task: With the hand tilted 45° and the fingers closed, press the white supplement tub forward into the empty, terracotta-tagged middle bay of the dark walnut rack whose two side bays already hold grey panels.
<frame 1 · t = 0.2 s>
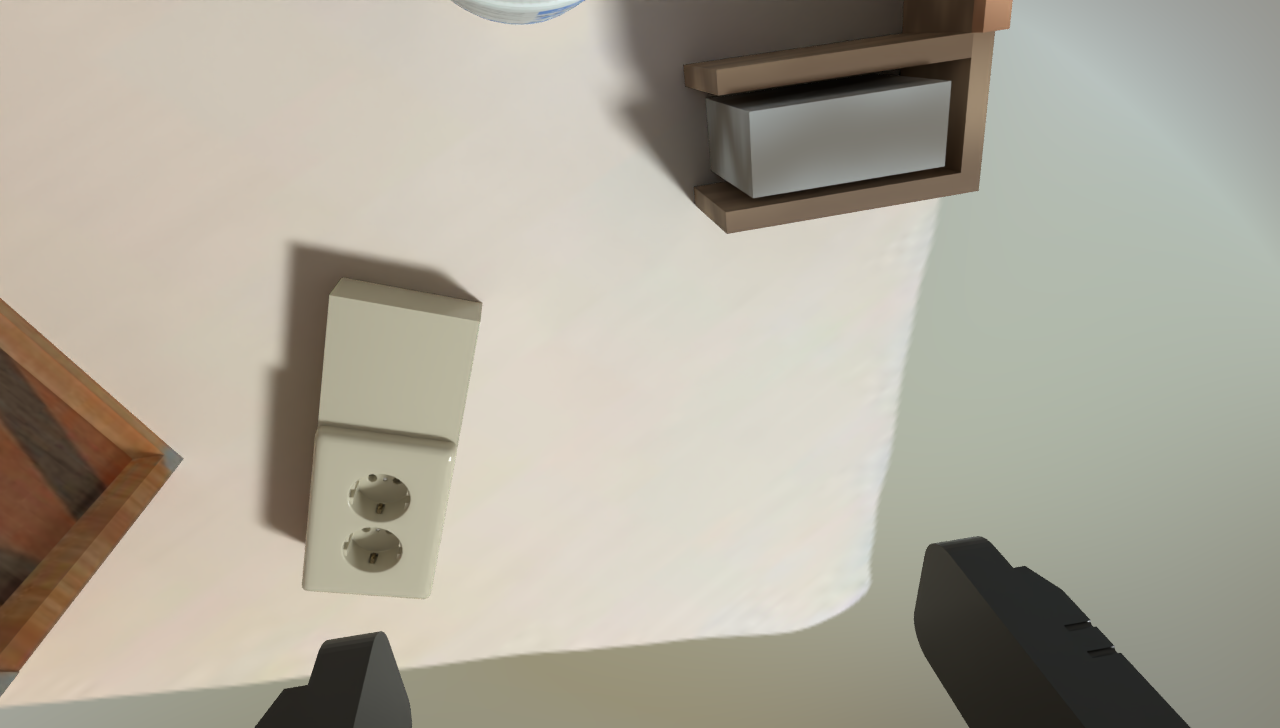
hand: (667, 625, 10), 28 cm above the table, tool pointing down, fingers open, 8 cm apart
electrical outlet: (395, 429, 40), on the table
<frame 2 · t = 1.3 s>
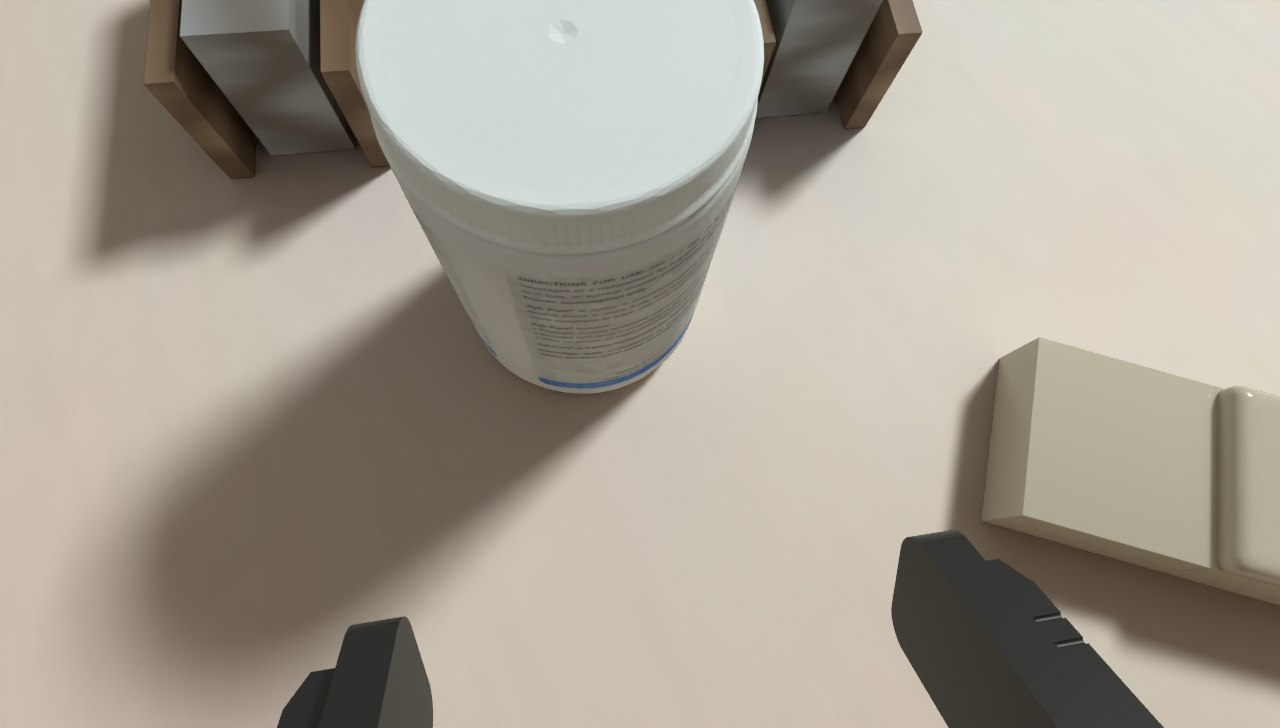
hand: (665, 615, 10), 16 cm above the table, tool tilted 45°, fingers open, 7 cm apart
supplement tub: (580, 294, 29), on the table
rack: (549, 45, 33), on the table
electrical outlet: (1188, 496, 29), on the table
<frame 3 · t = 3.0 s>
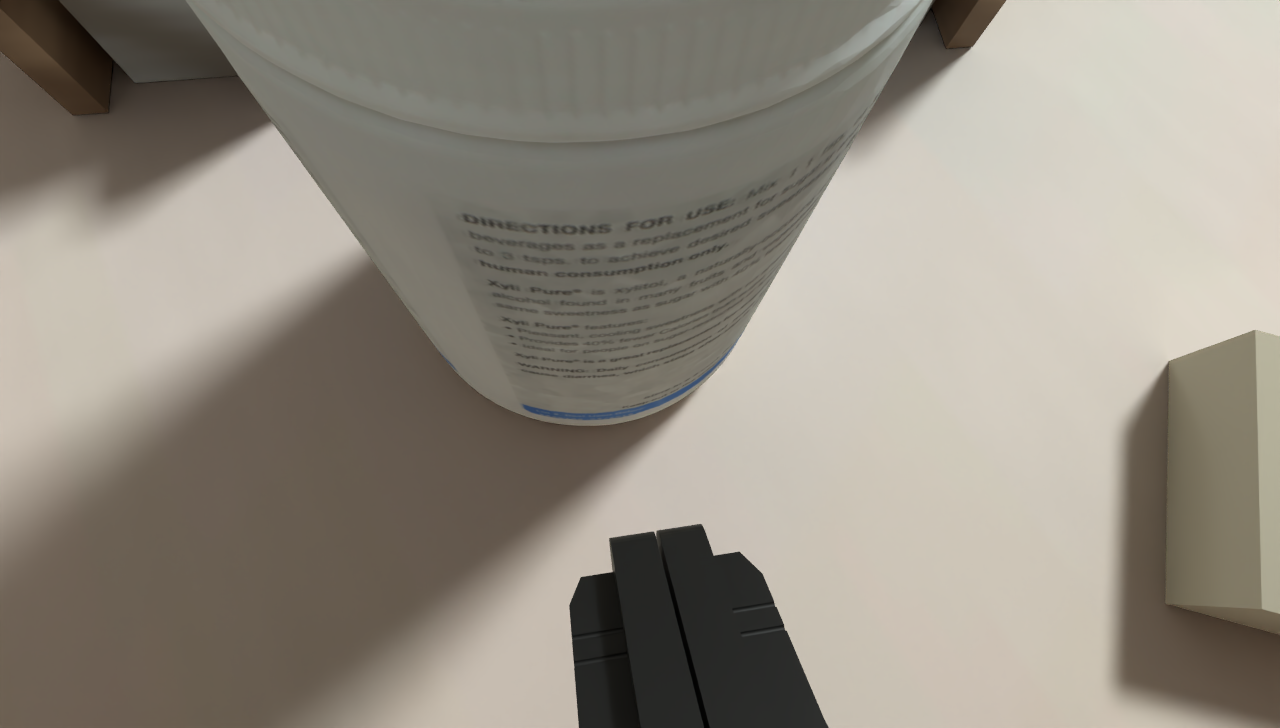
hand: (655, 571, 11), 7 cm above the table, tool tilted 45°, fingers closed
supplement tub: (583, 278, 20), on the table
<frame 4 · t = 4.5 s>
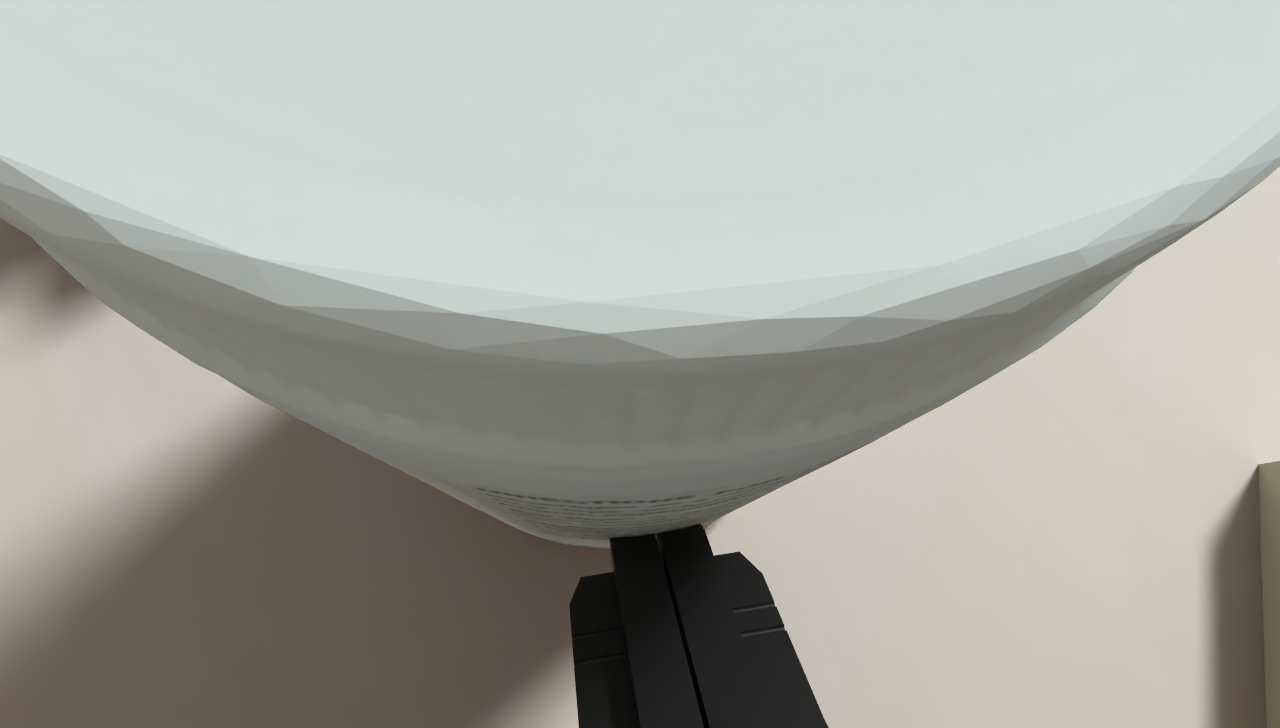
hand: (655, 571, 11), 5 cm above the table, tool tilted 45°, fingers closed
supplement tub: (603, 363, 18), on the table, touching gripper
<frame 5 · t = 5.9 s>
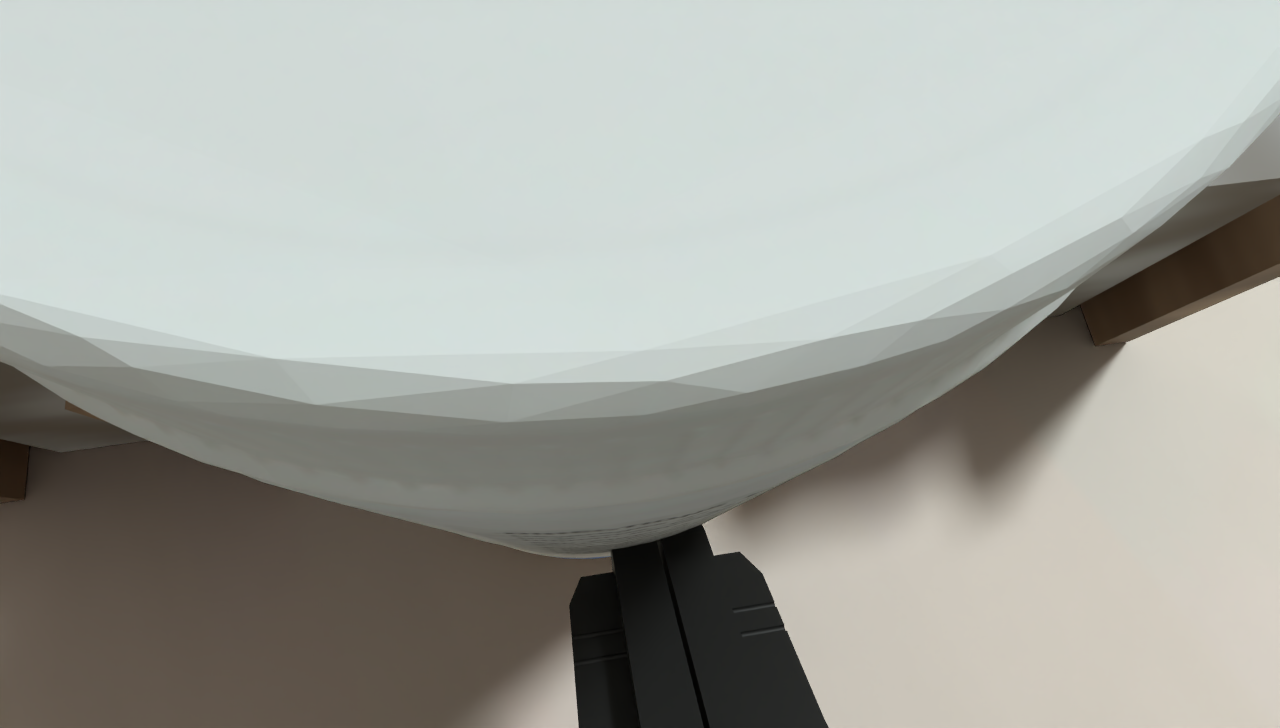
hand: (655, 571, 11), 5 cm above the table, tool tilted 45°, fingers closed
supplement tub: (583, 370, 18), on the table, touching gripper
rack: (574, 205, 19), on the table
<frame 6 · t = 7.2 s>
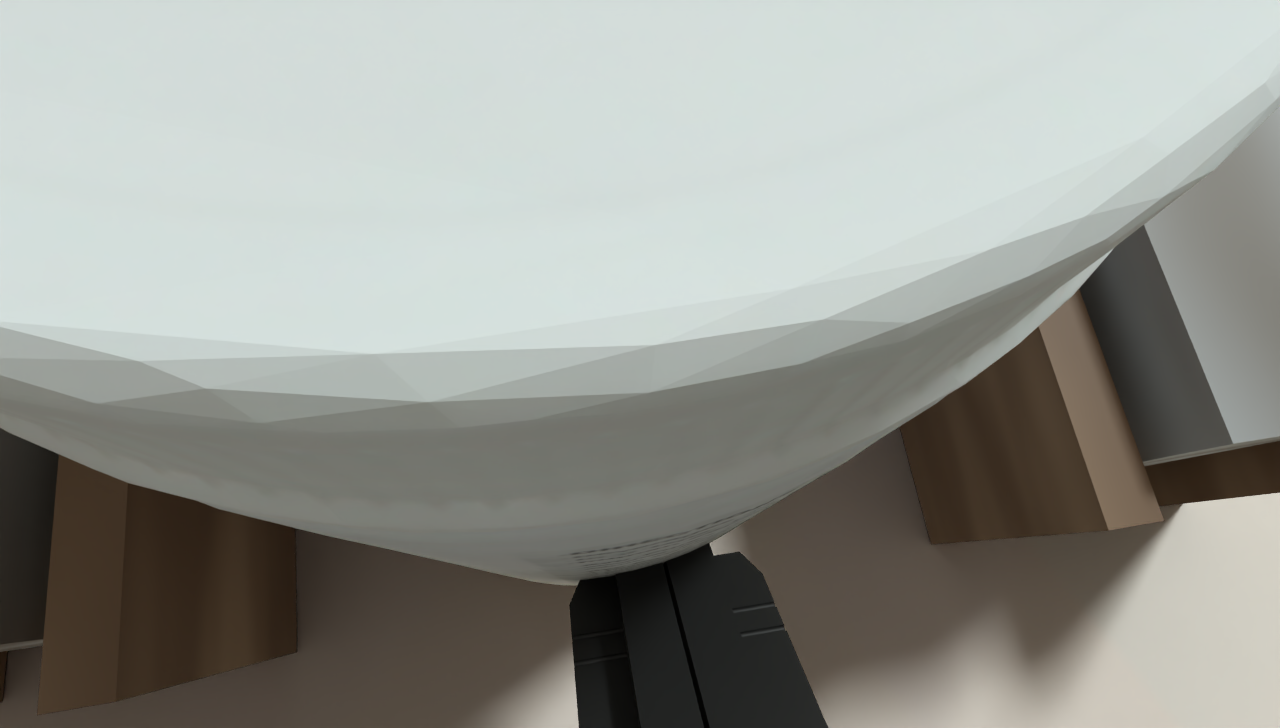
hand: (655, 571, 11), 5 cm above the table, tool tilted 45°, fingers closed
supplement tub: (581, 392, 17), on the table, touching gripper
rack: (595, 353, 18), on the table
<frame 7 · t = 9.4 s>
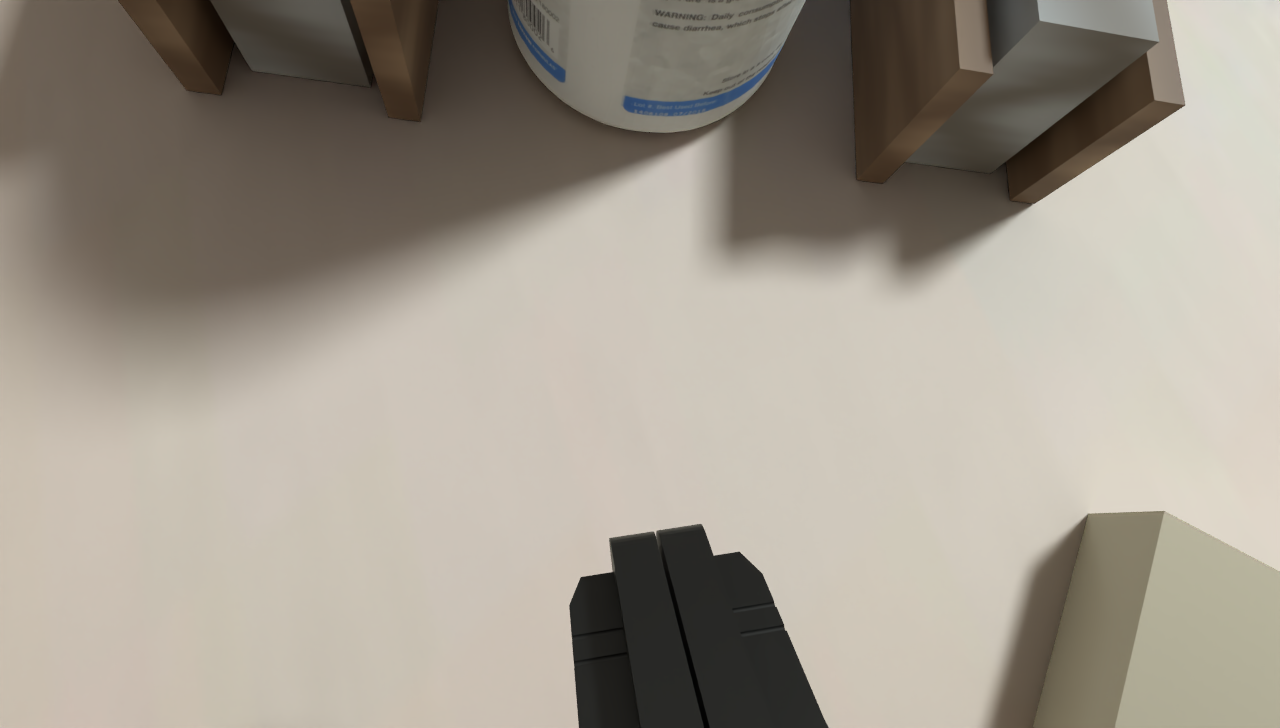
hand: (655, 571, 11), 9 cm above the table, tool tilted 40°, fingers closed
supplement tub: (638, 31, 24), on the table
rack: (656, 5, 25), on the table
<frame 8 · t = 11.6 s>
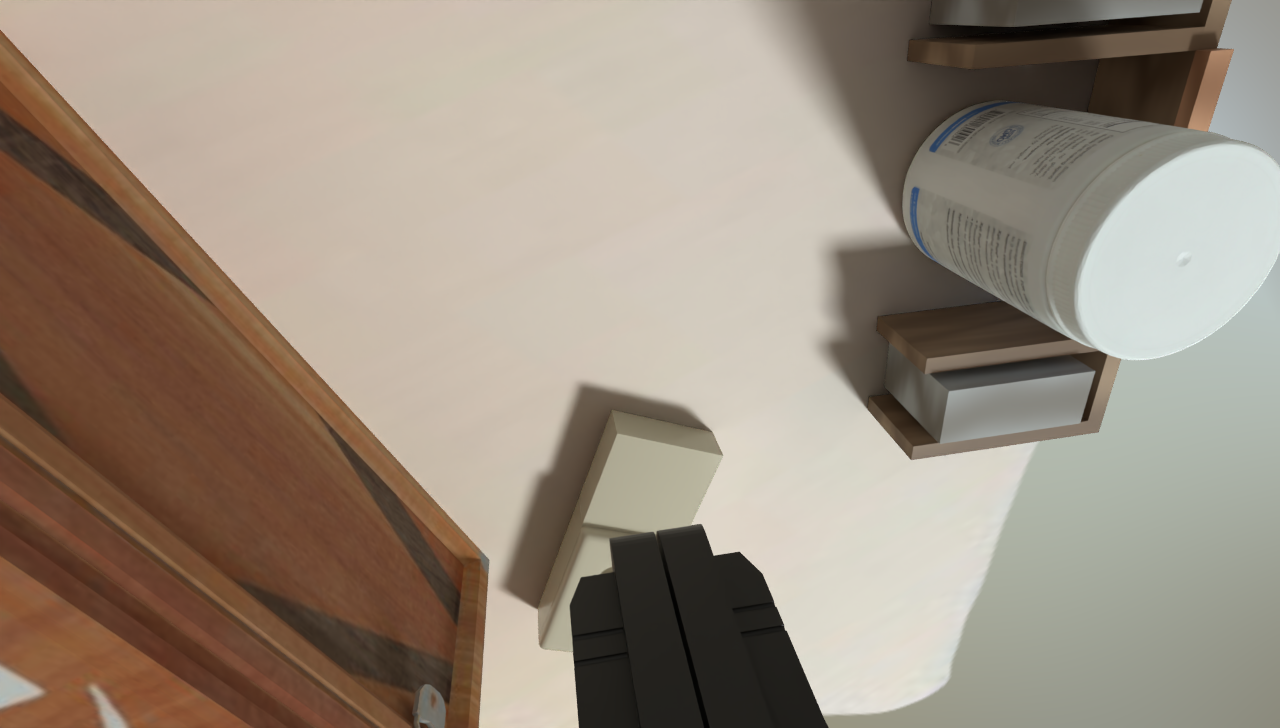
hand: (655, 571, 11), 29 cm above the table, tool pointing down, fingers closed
wooden box: (150, 420, 40), on the table
supplement tub: (969, 181, 40), on the table
rack: (986, 189, 40), on the table
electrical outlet: (618, 520, 49), on the table
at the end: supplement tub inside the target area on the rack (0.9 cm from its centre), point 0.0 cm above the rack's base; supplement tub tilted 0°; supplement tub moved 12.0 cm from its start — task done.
